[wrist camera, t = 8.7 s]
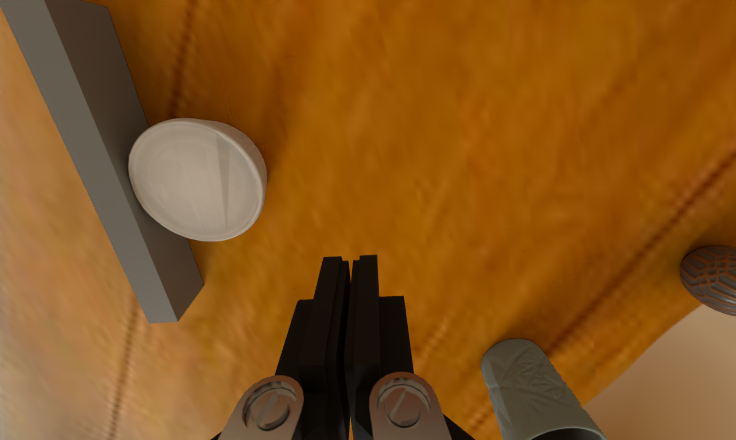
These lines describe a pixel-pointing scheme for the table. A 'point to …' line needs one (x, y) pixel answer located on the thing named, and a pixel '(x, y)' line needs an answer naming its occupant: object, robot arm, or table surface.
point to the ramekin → (198, 178)
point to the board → (104, 141)
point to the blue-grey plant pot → (533, 396)
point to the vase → (712, 277)
